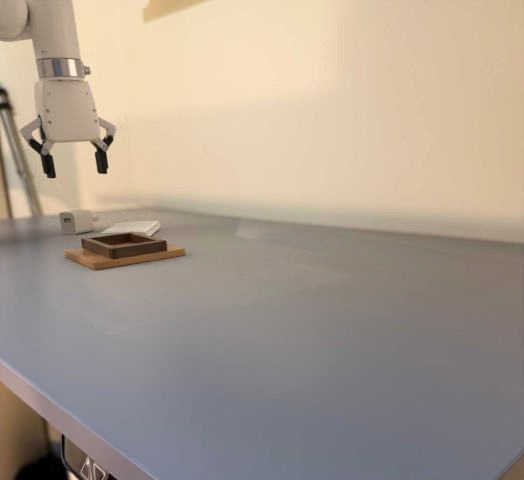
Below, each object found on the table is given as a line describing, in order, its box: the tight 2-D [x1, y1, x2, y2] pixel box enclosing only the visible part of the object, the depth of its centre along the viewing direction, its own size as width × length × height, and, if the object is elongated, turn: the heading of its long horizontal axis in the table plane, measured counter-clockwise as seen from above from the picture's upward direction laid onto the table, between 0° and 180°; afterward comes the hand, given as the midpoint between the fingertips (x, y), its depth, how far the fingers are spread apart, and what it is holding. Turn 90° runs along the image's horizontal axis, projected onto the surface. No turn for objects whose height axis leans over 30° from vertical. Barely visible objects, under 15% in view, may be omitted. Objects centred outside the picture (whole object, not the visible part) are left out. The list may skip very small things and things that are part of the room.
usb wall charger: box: [58, 208, 101, 236], centre depth 103 cm, size 4×7×4 cm, turn 150°
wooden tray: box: [63, 232, 186, 271], centre depth 80 cm, size 12×14×2 cm
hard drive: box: [98, 220, 161, 237], centre depth 98 cm, size 2×8×12 cm
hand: (77, 175), depth 100 cm, fingers open, 9 cm apart
